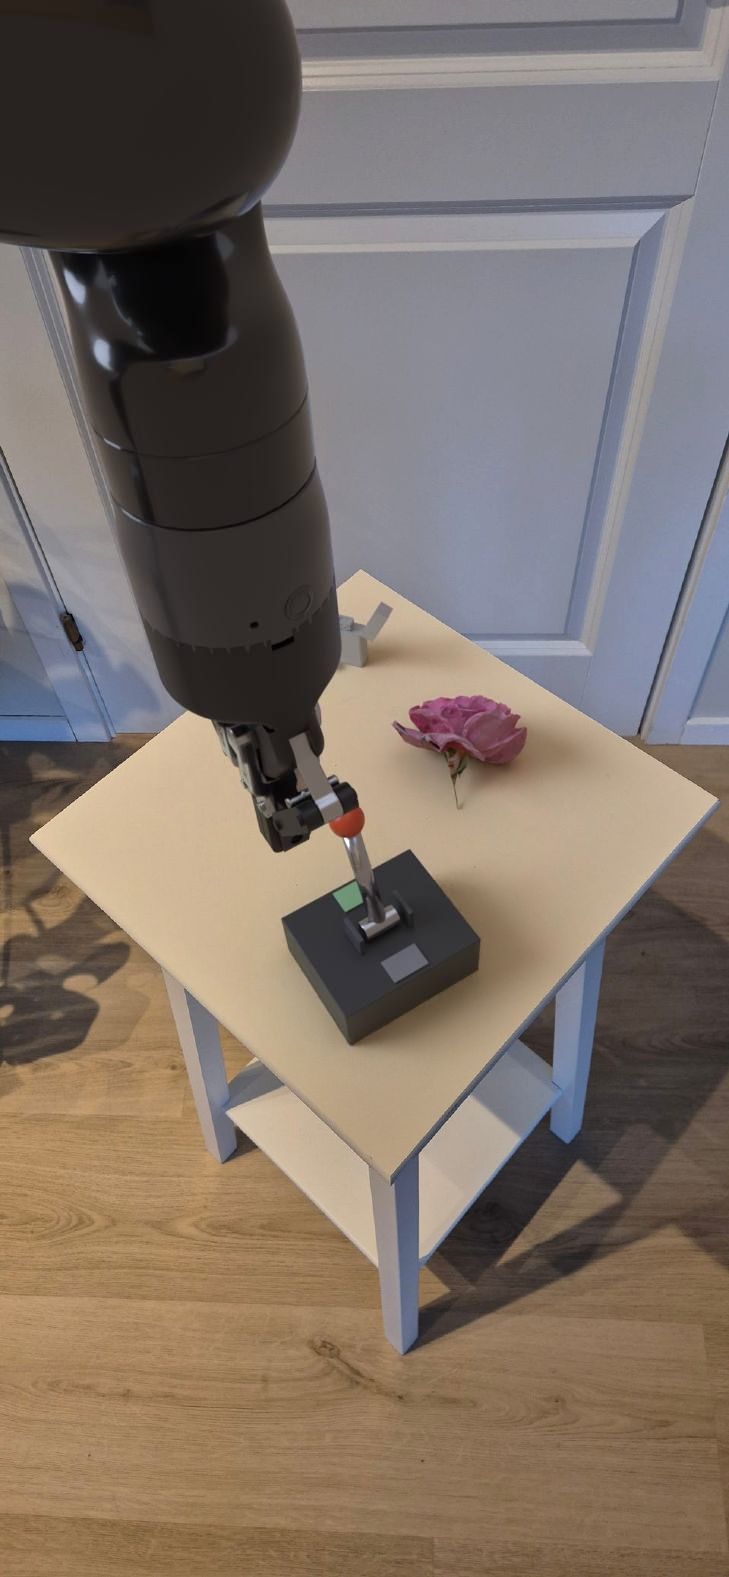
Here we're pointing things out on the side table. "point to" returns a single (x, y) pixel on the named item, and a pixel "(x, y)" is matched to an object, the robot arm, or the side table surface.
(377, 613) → the lighter
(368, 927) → the toggle
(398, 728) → the flower
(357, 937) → the switch box
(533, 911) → the side table surface
